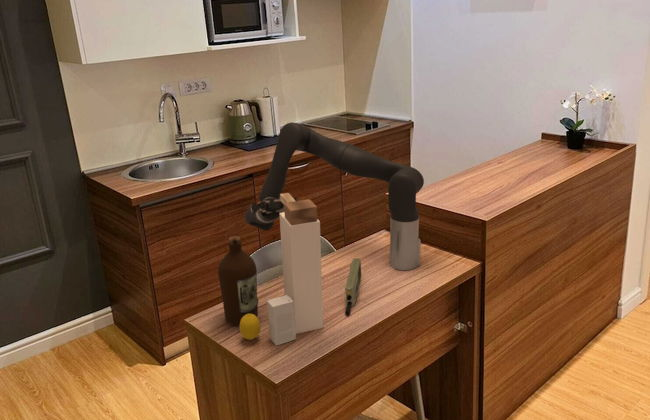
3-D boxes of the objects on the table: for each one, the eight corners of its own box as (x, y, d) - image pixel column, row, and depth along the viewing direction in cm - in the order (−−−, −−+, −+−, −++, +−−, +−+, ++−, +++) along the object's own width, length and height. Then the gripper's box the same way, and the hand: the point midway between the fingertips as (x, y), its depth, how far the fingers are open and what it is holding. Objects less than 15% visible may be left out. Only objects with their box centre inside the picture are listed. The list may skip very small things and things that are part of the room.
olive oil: (215, 318, 166) (206, 239, 157) (243, 303, 174) (236, 227, 165) (240, 331, 160) (232, 250, 151) (267, 315, 167) (262, 236, 158)
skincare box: (289, 332, 159) (287, 293, 155) (296, 339, 156) (294, 301, 151) (269, 338, 156) (266, 299, 152) (275, 346, 153) (272, 307, 148)
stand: (311, 310, 169) (307, 208, 158) (323, 327, 160) (319, 221, 149) (285, 315, 167) (279, 212, 155) (295, 333, 158) (290, 226, 146)
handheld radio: (362, 276, 188) (353, 317, 165) (352, 276, 189) (342, 317, 166) (361, 258, 186) (352, 297, 163) (351, 257, 186) (340, 296, 164)
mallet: (296, 198, 165) (295, 185, 164) (317, 221, 149) (316, 206, 148) (272, 201, 163) (271, 188, 162) (291, 225, 147) (290, 210, 145)
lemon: (244, 347, 153) (241, 321, 150) (238, 336, 158) (235, 311, 155) (264, 342, 155) (262, 316, 152) (257, 331, 160) (255, 306, 157)
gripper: (245, 202, 187) (253, 192, 172) (287, 196, 192) (299, 186, 176) (249, 224, 186) (257, 217, 171) (291, 218, 191) (303, 210, 175)
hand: (278, 201), depth 174 cm, fingers open, 8 cm apart
